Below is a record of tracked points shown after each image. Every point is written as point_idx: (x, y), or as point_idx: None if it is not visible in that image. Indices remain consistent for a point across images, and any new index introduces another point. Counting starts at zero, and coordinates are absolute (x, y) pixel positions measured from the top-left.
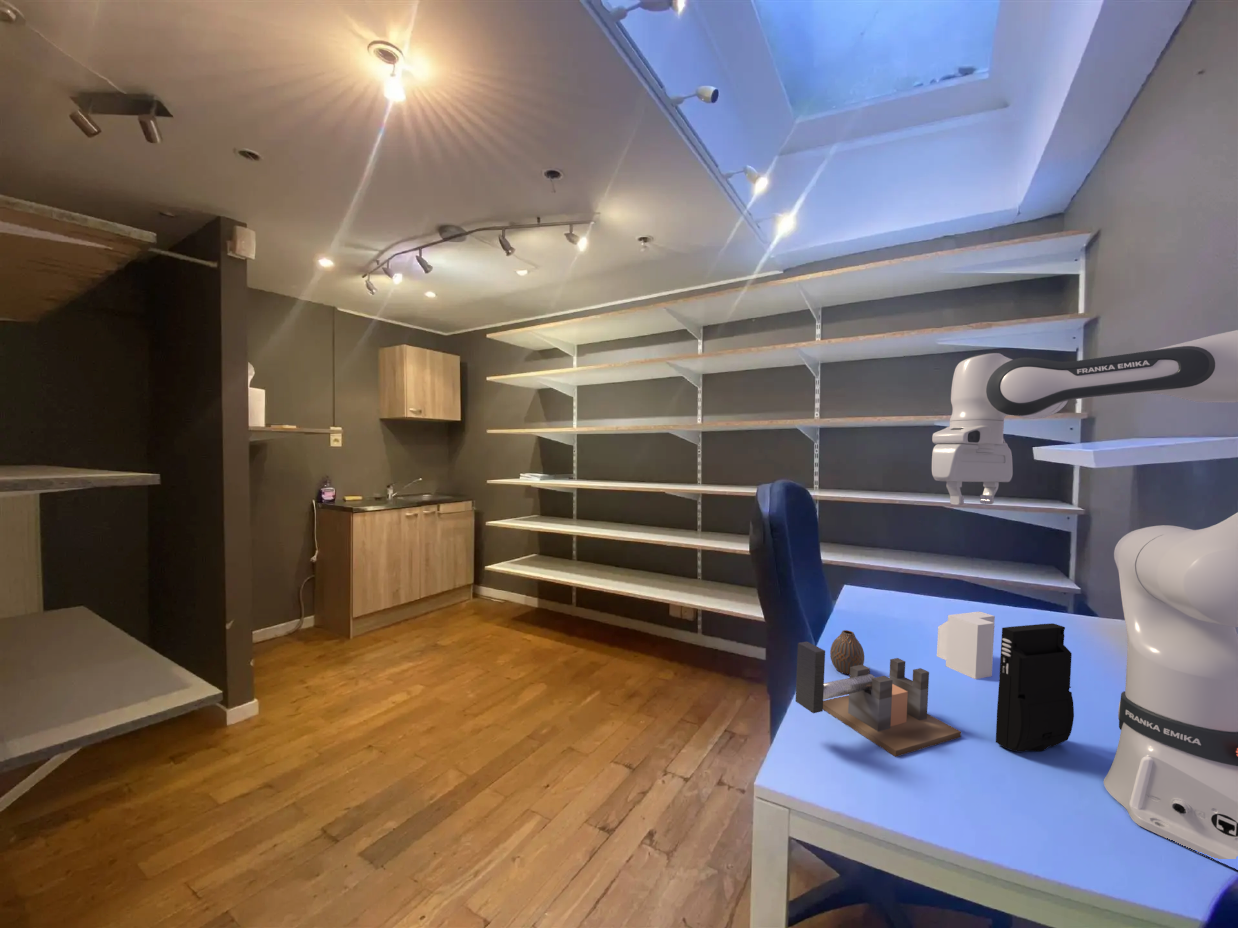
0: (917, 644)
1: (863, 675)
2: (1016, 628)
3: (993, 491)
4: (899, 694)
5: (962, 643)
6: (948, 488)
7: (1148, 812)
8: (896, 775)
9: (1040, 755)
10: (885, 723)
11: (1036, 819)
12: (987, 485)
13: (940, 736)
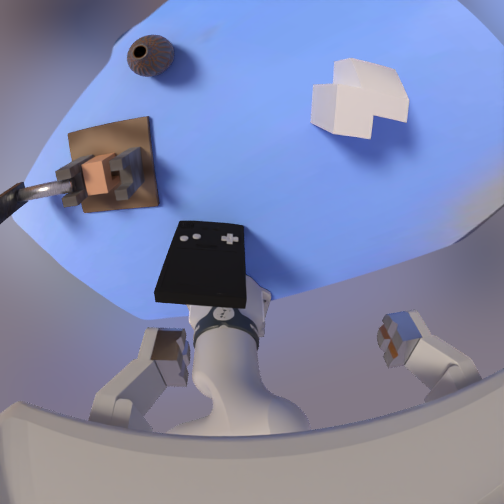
0: (347, 28)
1: (60, 187)
2: (170, 297)
3: (420, 378)
4: (97, 193)
5: (323, 107)
6: (107, 390)
7: None
8: (75, 226)
9: None
10: None
11: (129, 276)
12: (441, 385)
13: (132, 207)
